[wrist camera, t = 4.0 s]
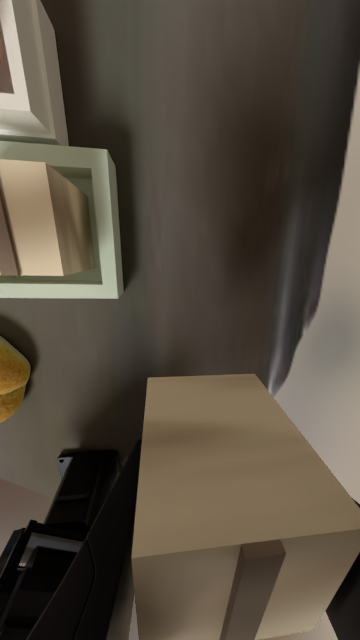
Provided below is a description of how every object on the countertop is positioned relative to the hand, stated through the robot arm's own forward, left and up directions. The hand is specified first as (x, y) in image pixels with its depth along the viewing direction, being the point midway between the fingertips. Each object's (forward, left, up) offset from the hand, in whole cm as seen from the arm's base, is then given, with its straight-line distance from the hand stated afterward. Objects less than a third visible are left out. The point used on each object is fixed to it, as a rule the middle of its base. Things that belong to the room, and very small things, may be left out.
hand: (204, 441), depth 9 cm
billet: (0, 0, -1) cm, 1 cm away
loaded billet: (+9, +10, -10) cm, 17 cm away
